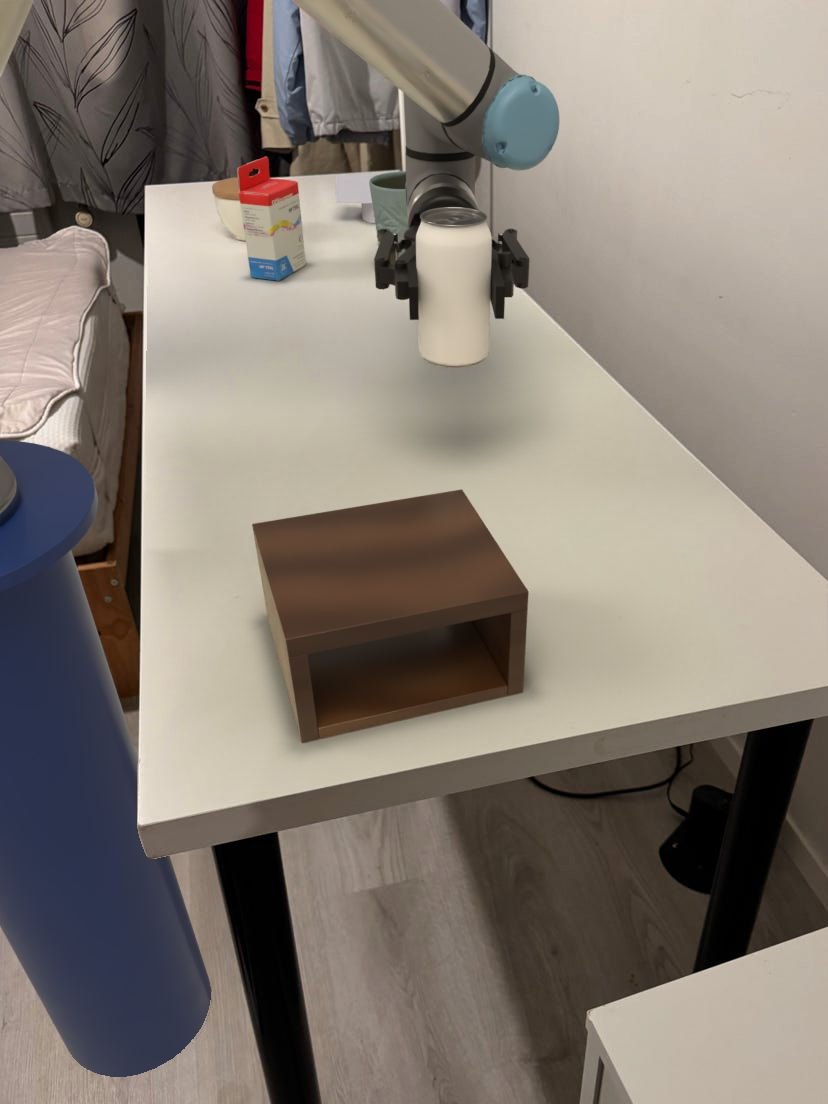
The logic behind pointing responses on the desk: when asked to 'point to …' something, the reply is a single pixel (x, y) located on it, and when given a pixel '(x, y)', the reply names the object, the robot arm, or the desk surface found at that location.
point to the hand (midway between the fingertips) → (457, 303)
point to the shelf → (390, 612)
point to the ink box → (270, 222)
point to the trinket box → (229, 206)
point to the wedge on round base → (356, 193)
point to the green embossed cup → (390, 202)
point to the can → (453, 286)
